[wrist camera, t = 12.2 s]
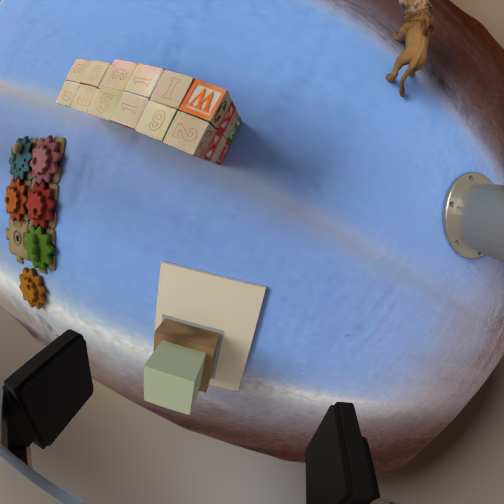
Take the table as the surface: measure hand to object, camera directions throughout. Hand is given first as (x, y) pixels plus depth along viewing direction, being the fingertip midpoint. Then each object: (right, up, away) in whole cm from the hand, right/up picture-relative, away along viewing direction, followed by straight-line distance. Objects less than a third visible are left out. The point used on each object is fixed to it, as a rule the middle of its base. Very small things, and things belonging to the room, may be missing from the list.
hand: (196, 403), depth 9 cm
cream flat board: (-5, -6, +30) cm, 31 cm away
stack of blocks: (-10, +23, +23) cm, 34 cm away
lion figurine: (+22, +33, +18) cm, 44 cm away
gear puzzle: (-37, +10, +29) cm, 48 cm away
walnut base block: (-7, -9, +30) cm, 32 cm away
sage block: (-7, -10, +26) cm, 28 cm away
